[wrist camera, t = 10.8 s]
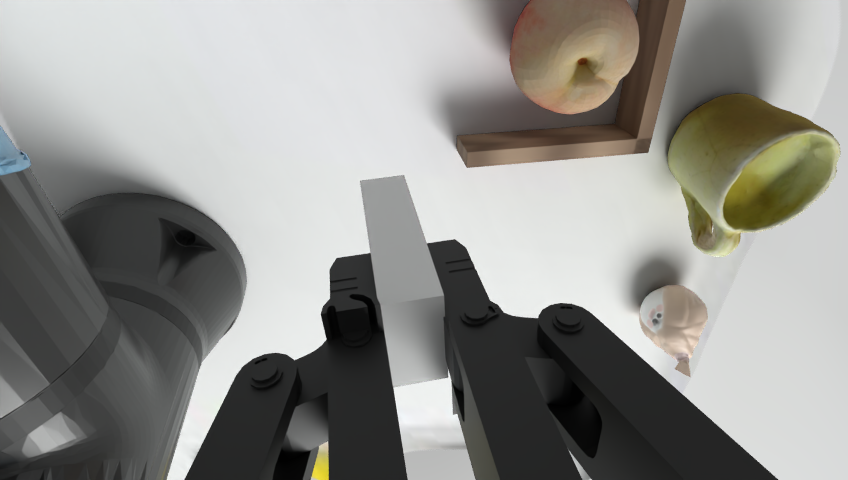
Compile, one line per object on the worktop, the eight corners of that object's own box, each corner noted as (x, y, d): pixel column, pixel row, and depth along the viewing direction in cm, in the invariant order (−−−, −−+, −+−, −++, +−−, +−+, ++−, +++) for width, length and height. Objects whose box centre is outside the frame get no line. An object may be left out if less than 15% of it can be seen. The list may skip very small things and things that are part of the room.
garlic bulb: (616, 304, 51) (659, 360, 44) (666, 264, 49) (719, 317, 42) (647, 331, 54) (692, 387, 47) (696, 295, 52) (749, 348, 45)
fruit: (473, 59, 35) (506, 89, 28) (541, -50, 32) (595, -46, 25) (554, 112, 38) (601, 149, 31) (622, 16, 35) (690, 36, 28)
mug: (718, 55, 36) (831, 137, 30) (773, 89, 42) (877, 163, 36) (606, 179, 43) (680, 264, 37) (667, 193, 49) (739, 269, 43)
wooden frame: (456, 150, 38) (466, 167, 36) (462, -102, 30) (476, -105, 27) (625, 136, 40) (648, 152, 37) (677, -104, 31) (712, -108, 29)
